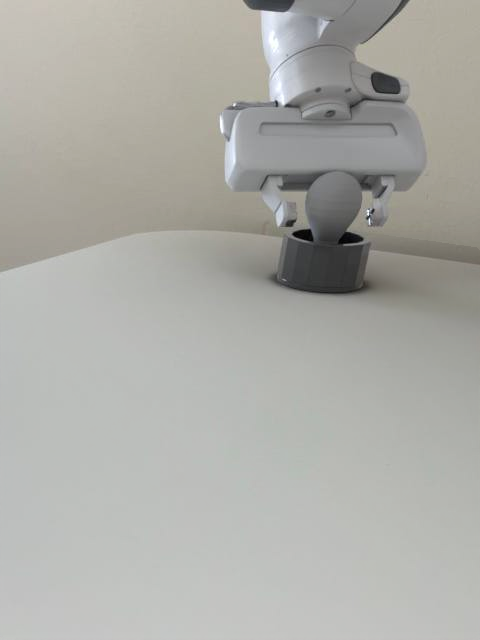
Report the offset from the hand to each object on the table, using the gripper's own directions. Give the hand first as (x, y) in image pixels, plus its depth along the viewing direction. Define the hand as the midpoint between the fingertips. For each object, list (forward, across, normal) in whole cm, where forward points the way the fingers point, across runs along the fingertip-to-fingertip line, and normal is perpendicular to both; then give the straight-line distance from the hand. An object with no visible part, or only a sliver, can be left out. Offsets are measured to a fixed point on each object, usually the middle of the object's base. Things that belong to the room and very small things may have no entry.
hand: (332, 223), depth 100 cm
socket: (+4, 0, +5) cm, 6 cm away
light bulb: (+3, 0, +4) cm, 6 cm away
